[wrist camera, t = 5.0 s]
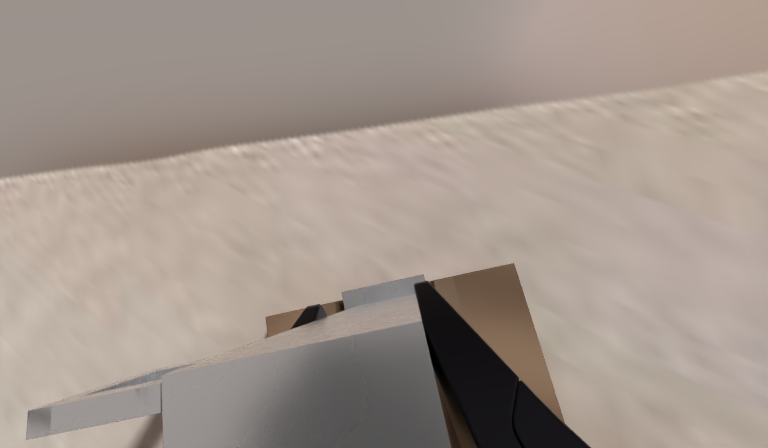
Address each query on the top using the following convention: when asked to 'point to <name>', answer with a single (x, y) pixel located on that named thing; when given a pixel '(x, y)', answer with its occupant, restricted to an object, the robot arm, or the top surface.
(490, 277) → the track board
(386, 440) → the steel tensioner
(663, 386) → the top surface
